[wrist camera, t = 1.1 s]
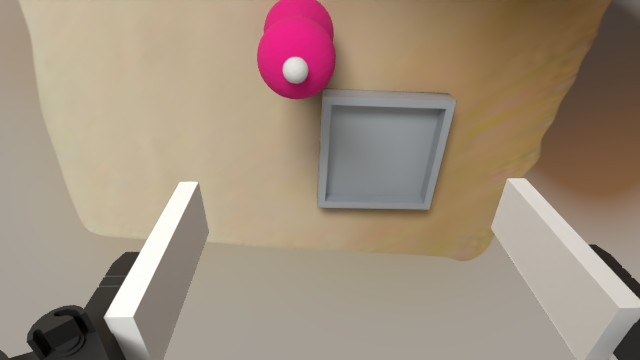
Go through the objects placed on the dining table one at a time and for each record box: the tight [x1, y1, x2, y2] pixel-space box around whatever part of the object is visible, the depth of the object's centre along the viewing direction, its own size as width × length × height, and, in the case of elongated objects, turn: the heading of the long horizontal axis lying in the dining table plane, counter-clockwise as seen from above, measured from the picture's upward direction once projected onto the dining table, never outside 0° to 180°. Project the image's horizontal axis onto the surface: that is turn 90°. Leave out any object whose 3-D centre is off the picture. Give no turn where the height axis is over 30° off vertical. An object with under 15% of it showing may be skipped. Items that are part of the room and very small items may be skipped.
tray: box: [317, 89, 456, 210], centre depth 48 cm, size 16×16×3 cm
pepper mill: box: [257, 0, 336, 99], centre depth 33 cm, size 7×7×20 cm
